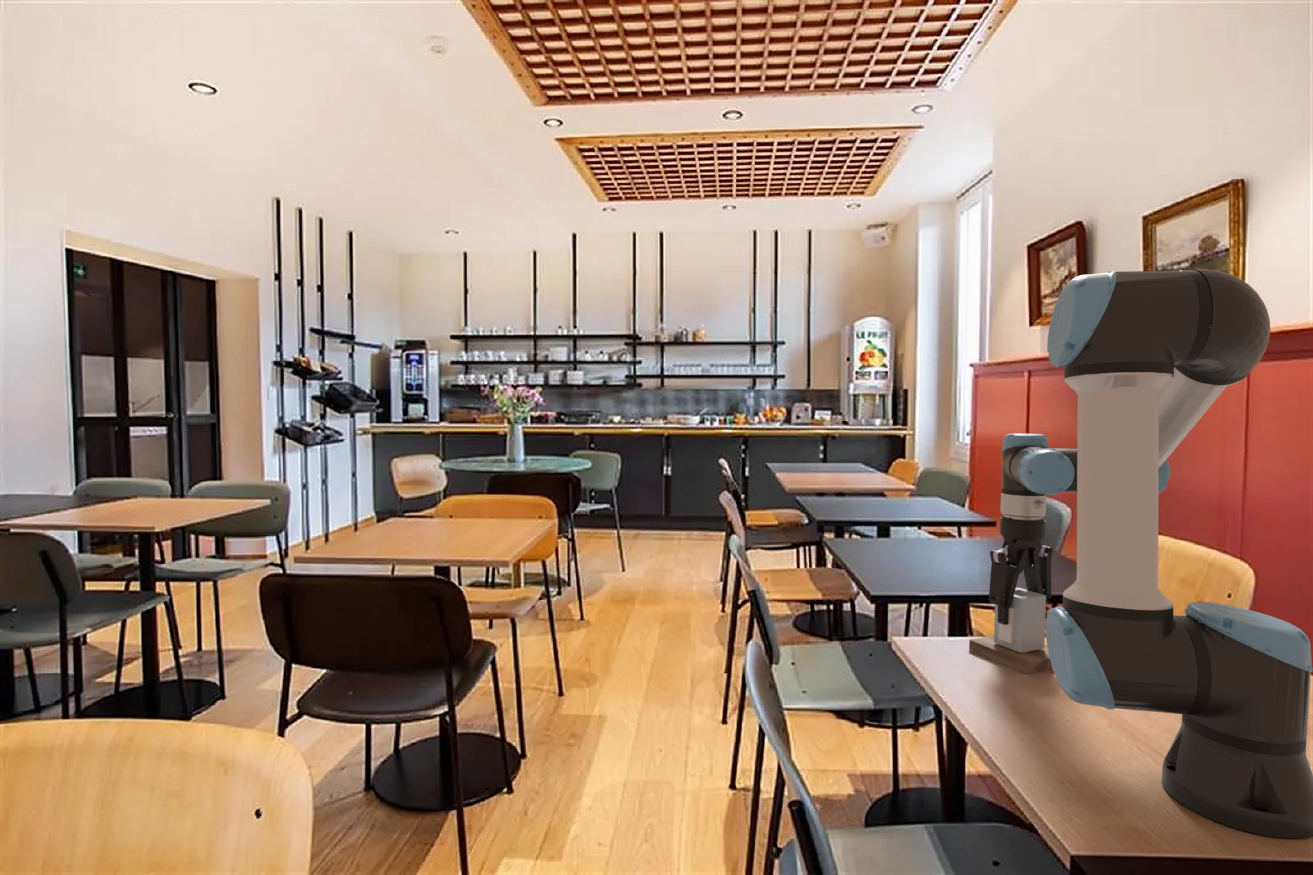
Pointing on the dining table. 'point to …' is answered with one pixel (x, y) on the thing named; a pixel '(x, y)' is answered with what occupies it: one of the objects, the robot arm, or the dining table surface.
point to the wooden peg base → (1012, 655)
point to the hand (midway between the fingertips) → (1019, 638)
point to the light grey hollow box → (1025, 621)
